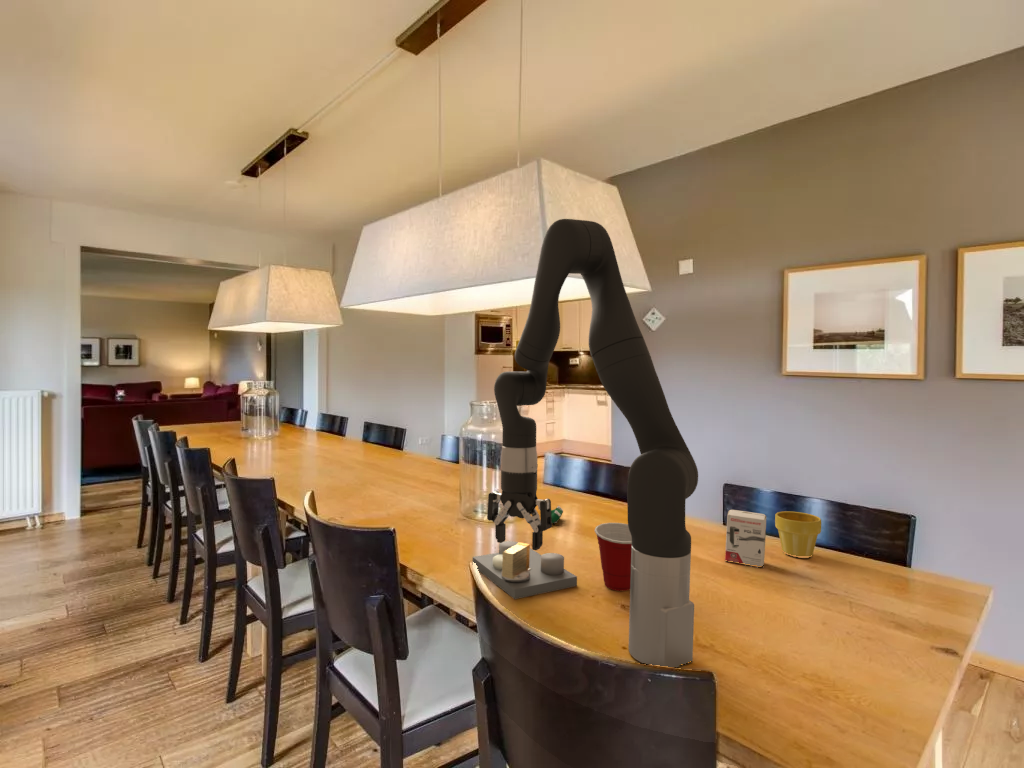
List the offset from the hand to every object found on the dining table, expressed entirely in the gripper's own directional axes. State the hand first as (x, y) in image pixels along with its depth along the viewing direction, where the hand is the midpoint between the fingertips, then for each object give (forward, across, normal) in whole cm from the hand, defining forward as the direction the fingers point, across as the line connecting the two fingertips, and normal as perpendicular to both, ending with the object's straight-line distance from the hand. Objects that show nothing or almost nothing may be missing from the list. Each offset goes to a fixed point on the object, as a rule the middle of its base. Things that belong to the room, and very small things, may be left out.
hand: (518, 545), depth 112 cm
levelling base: (+9, -3, +6) cm, 11 cm away
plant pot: (+10, +47, +58) cm, 75 cm away
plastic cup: (+9, +17, +13) cm, 23 cm away
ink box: (+10, +37, +44) cm, 58 cm away
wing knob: (+6, 0, 0) cm, 7 cm away
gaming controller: (+9, -17, +47) cm, 51 cm away
